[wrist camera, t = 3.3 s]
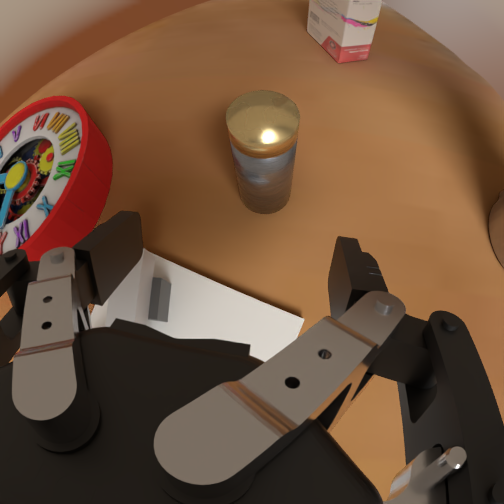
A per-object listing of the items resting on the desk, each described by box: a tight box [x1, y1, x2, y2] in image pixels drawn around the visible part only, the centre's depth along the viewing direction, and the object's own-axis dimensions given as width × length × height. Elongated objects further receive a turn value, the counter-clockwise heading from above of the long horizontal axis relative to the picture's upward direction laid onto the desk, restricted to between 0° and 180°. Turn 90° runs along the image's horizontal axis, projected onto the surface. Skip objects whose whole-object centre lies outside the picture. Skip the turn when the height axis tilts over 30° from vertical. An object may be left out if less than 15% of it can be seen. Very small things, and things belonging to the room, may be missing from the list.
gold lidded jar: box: [226, 90, 300, 214], centre depth 22 cm, size 4×4×10 cm
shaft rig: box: [90, 248, 304, 362], centre depth 19 cm, size 27×16×6 cm, turn 156°
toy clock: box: [0, 96, 112, 261], centre depth 26 cm, size 20×6×20 cm
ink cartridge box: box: [307, 0, 382, 63], centre depth 26 cm, size 9×5×15 cm, turn 21°
